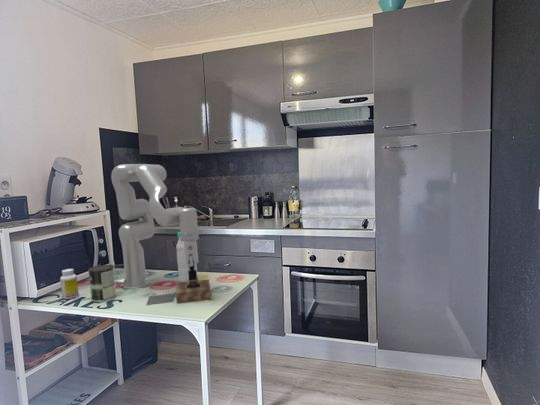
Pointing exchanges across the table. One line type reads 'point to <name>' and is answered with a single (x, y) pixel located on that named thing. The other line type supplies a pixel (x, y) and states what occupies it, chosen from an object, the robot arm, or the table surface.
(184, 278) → the water bottle
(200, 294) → the brown peg hole board
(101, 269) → the coffee can
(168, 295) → the rubber mat
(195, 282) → the steel peg
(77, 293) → the supplement bottle
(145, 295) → the table surface
